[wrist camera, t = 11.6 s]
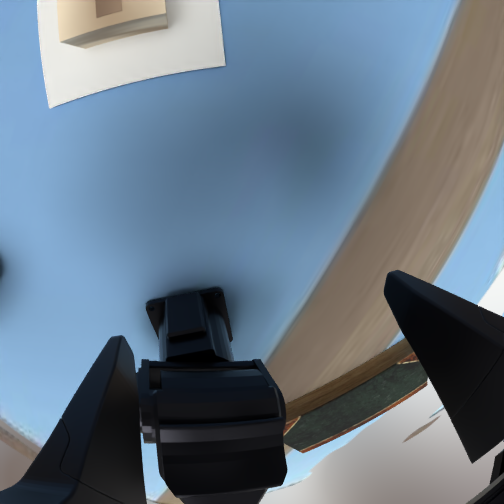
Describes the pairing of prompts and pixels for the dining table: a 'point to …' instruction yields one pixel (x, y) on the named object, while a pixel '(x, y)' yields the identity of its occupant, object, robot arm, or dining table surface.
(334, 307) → the dining table surface
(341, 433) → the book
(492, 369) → the robot arm
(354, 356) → the dining table surface
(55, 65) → the mat
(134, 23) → the tan rectangular block
